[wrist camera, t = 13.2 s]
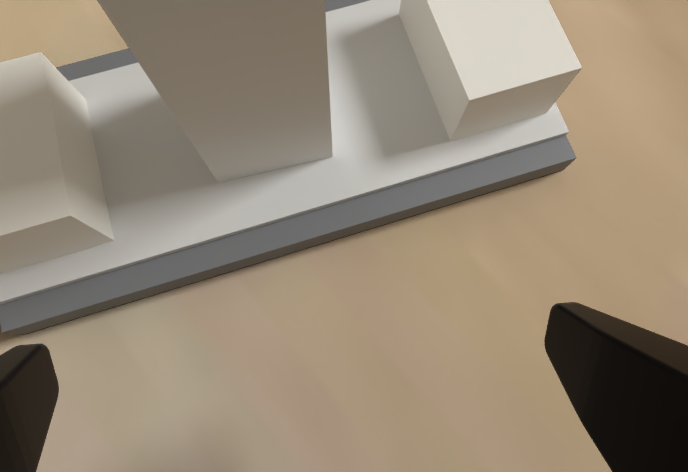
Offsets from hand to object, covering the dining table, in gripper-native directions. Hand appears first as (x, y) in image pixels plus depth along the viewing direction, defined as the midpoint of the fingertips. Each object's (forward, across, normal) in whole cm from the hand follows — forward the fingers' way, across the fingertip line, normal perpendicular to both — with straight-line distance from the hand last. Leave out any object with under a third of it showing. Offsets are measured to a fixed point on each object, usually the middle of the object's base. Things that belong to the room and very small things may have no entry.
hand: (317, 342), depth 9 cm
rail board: (+14, 0, -1) cm, 14 cm away
